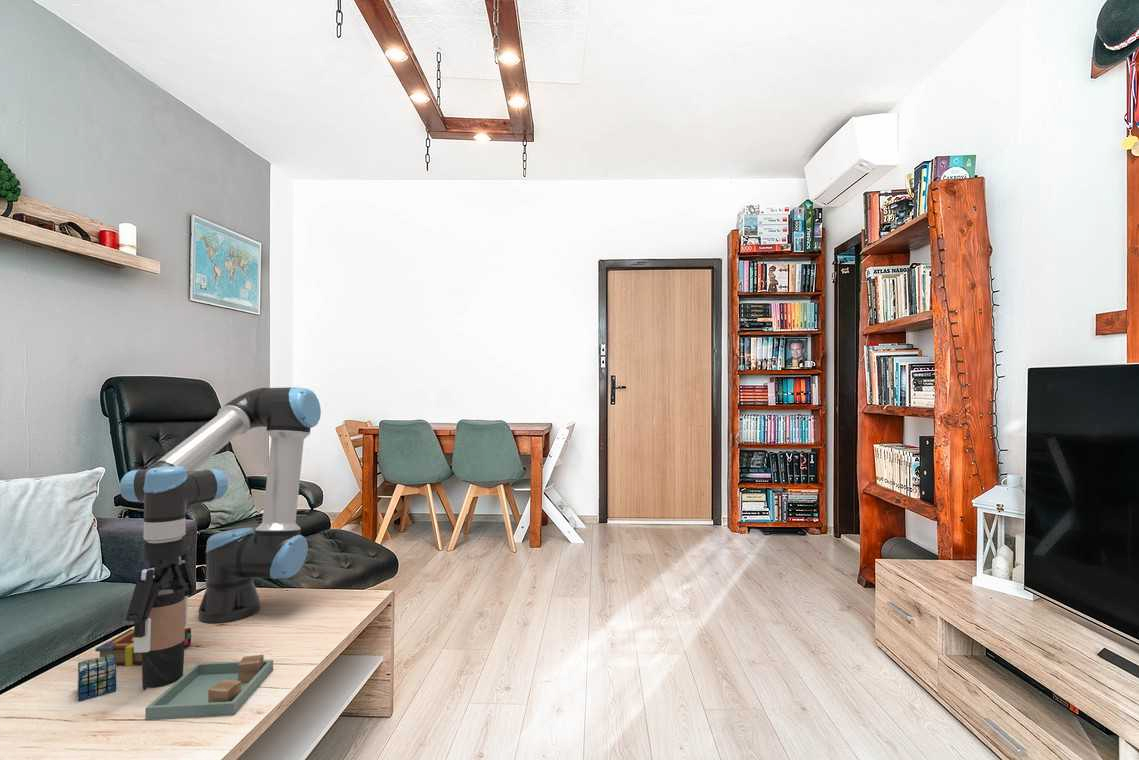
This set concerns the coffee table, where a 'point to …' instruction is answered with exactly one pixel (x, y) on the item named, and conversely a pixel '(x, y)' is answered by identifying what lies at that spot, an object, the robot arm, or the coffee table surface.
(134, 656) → the decorative book
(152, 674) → the travel mug
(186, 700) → the tray
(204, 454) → the robot arm
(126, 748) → the coffee table surface
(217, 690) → the walnut block
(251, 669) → the walnut block
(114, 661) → the puzzle
